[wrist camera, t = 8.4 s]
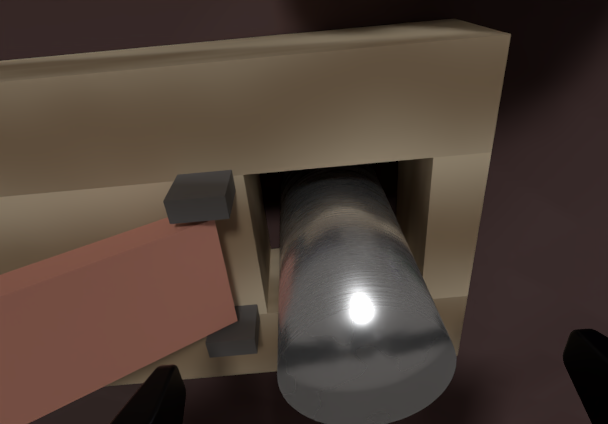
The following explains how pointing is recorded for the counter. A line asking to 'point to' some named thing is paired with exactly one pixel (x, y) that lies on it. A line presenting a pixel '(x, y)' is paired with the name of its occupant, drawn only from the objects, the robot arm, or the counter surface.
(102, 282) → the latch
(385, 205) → the peg
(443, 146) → the block
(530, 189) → the counter surface
